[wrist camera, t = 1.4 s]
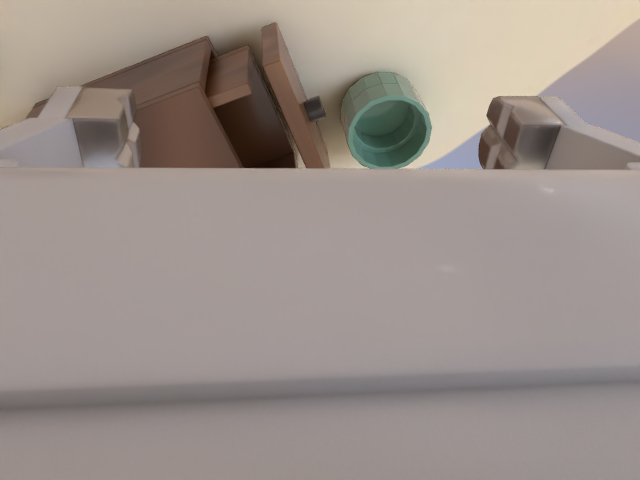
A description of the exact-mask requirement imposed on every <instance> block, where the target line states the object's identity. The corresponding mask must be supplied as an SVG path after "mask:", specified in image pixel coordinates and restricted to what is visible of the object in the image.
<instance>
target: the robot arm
mask: <svg viewBox="0 0 640 480" xmlns="http://www.w3.org/2000/svg"><path fill="white" fill-rule="evenodd" d="M136 112H137V107H136V101H135V95H134V93H133V90H132V89H112V88H85V87H57V88H56V90H55V91H54V93H53V94H52V96H51V97H50V99H49V100H48V102H47V103H46V105H45V106H44V108H43V110H42V111H41V113H40V114H39V116H38V117H37V118H28V119H25V120H22V121H20V122H17V123H15V124H12V125H10V126H7V127H4V128H2V129H0V480H640V143H639V142H636V141H634V140H631V139H628V138H626V137H623V136H621V135H618V134H615V133H613V132H610V131H607V130H605V129H602V128H599V127H597V126H589V125H588V124H586V122H585V121H583V120H582V119H581V118H580V117H579V116H578V115H577V114H576V113H575V112H574V111H573V110H572V109H571V108H570V107H569V106H568V105H567V104H566V103H565V102H564V101H563V100H562V99H561V98H559V97H538V96H498V97H495V98H493V100H492V101H491V103H490V105H489V108H488V112H487V115H486V116H487V118H488V120H489V123H490V125H489V126H488V127H487V128H486V129H485V130H484V131H483V132H482V134H481V138H480V143H479V161H480V164H481V166H482V168H483V169H333V168H140V164H141V156H142V144H141V134H140V128H139V127H138V126H137V125H136V124H135V123H134V122H133V121H134V118H135V115H136Z"/></svg>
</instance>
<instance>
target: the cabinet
mask: <svg viewBox="0 0 640 480" xmlns="http://www.w3.org/2000/svg"><path fill="white" fill-rule="evenodd" d="M216 57H217V55H216V53H215V51H214V49H213V47H212V44H211V42H210V40H209V38H208V37H207V36H205V37H203V38H200V39H198V40H195V41H193V42H190V43H188V44H185V45H183V46H180V47H178V48H175V49H173V50H170V51H168V52H165V53H162V54H160V55H157V56H155V57H152V58H150V59H147V60H145V61H142V62H140V63H137V64H135V65H132V66H130V67H127V68H125V69H122V70H120V71H117V72H115V73H112V74H109V75H107V76H104V77H102V78H99V79H97V80H94V81H92V82H89V83H87V84H84V85H82V86H79V87H85V88H112V89H132V90H133V93H134V95H135V101H136V107H137V112H136V115H135V118H134V121H133V122H134V123H135V124H136V125H137V126H138V127H139V128H140V134H141V144H142V156H141V164H140V168H244V167H243V166H242V164H241V162H240V160H239V158H238V156H237V154H236V152H235V150H234V148H233V146H232V144H231V142H230V140H229V139H228V137H227V135H226V133H225V131H224V129H223V127H222V125H221V123H220V121H219V119H218V117H217V115H216V114H215V112H214V110H213V108H212V106H211V104H210V102H209V100H208V98H207V96H206V94H205V85H206V79H207V73H208V66H209V60H211V59H213V58H216ZM49 99H50V98H49ZM49 99H46V100H44V101H41V102H39V103H36V104H35V106H34V107H33V109H32V110H31V112H30V113H29V115H28V116H27V117H26V119H28V118H37V117H38V116H39V114H40V113H41V111H42V110H43V108H44V106H45V105H46V103H47V102H48V100H49Z"/></svg>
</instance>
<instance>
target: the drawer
mask: <svg viewBox="0 0 640 480" xmlns="http://www.w3.org/2000/svg"><path fill="white" fill-rule="evenodd" d="M261 31H262V58H263V69H264V71H265V74H266V76H267V78H268V80H269V83H270V85H271V87H272V90H273V92H274V94H275V97H276V99H277V101H278V104H279V106H280V108H281V111H282V113H283V115H284V118H285V120H286V122H287V124H288V127H289V129H290V131H291V134H292V136H293V138H294V141H295V143H296V145H297V148H298V150H299V152H300V155H301V157H302V159H303V162H304V164H305V166H306V168H330V163H329V158H328V153H327V149H326V147H325V144H324V142H323V139H322V136H321V134H320V131H319V129H318V126H317V124H316V120H319V119H322V118H325V117H326V113H325V110H324V107H323V104H322V101H321V99H320V97H319V96H317V97H314V98H311V99H309V100H307V98H306V96H305V93H304V91H303V88H302V86H301V83H300V81H299V78H298V75H297V73H296V70H295V68H294V65H293V63H292V60H291V58H290V55H289V53H288V50H287V47H286V45H285V42H284V40H283V37H282V35H281V32H280V30H279V27H278V25H277V23H276V22H274V23H272V24H269V25H267V26H264V27H262V28H261ZM205 94H206V96H207V98H208V100H209V102H210V104H211V106H212V108H213V110H214V112H215V114H216V115H217V117H218V119H219V121H220V123H221V125H222V127H223V129H224V131H225V133H226V135H227V137H228V139H229V140H230V142H231V144H232V146H233V148H234V150H235V152H236V154H237V156H238V158H239V160H240V162H241V164H242V166H243V167H244V168H298V164H297V156H296V153H295V151H294V148H293V146H292V144H291V141H290V139H289V137H288V135H287V132H286V130H285V128H284V125H283V123H282V121H281V119H280V116H279V114H278V112H277V109H276V107H275V105H274V103H273V100H272V98H271V96H270V93H269V91H268V89H267V87H266V84H265V82H264V80H263V77H262V75H261V73H260V71H259V68H258V66H257V64H256V61H255V59H254V57H253V55H252V52H251V50H250V48H249V46H248V45H246V46H244V47H241V48H239V49H236V50H234V51H231V52H229V53H226V54H223V55H221V56H218V57H216V58H213V59H211V60H209V66H208V73H207V79H206V85H205Z"/></svg>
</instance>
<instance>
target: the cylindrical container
mask: <svg viewBox="0 0 640 480" xmlns="http://www.w3.org/2000/svg"><path fill="white" fill-rule="evenodd" d="M341 120H342V124H343V128H344V132H345V136H346V139H347V143H348V146H349V148H350V151H351V154H352V156H353V157H354V158H355V159H356V160H357V161H358V162H359V163H360V164H361V165H363V166H365V167H368V168H370V169H399V168H401V167H404V166H407V165H409V164H410V163H411V162H413V161H414V160H415V159H416V158H418V157H419V156H420V155H421V154H422V152H423V151H424V149H425V148H426V146H427V145H428V143H429V139H430V134H431V129H432V126H431V122H430V118H429V114H428V112H427V110H426V108H425V106H424V104H423V102H422V101H421V99H420V97H419V95H418V93H417V91H416V89H415V88H414V87H413V86H412V85H411V83H410V82H409V81H408V80H407V79H406V78H404V77H402V76H400V75H397V74H395V73H392V72H377V73H374V74H371V75H368V76H365V77H363V78H361V79H360V80H358V81H357V82H356V83H355V84H354V85H353V86H351V87H350V89H348V91H347V93H346V95H345V97H344V99H343V101H342V105H341Z"/></svg>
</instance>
